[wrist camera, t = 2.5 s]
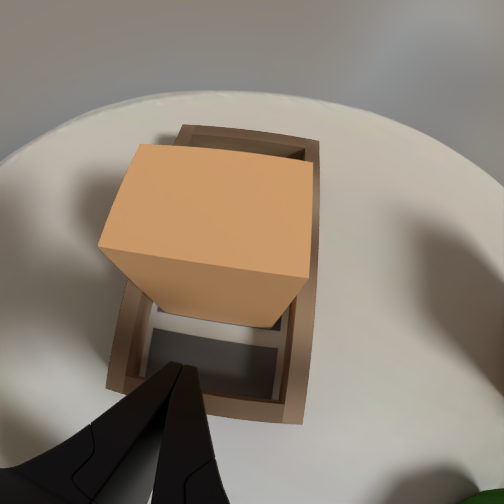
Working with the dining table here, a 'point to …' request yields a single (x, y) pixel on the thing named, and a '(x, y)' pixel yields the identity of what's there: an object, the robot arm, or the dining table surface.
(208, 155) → the block
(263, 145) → the tray
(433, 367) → the dining table surface
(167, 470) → the robot arm
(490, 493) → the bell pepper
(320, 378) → the dining table surface
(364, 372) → the dining table surface
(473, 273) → the dining table surface
